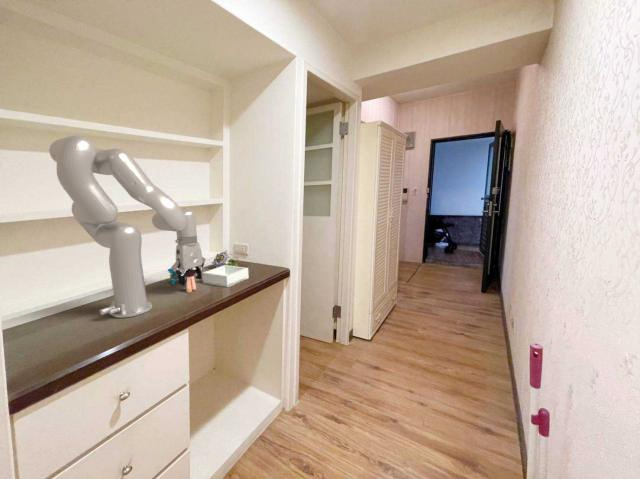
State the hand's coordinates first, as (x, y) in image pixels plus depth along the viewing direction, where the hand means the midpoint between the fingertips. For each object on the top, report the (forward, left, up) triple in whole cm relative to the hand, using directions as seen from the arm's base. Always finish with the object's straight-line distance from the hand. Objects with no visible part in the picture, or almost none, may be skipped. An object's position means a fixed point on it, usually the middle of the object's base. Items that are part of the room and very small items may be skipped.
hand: (190, 281), depth 127 cm
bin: (+16, -4, -4) cm, 17 cm away
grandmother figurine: (0, 0, -4) cm, 4 cm away
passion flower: (+32, +11, -4) cm, 34 cm away
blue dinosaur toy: (+6, +15, -4) cm, 17 cm away
